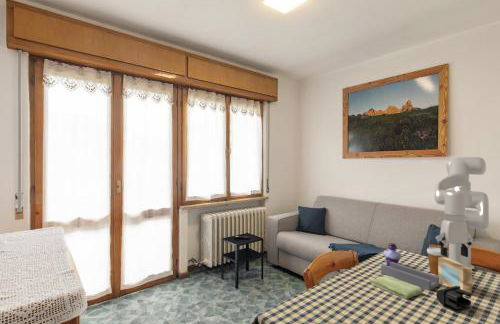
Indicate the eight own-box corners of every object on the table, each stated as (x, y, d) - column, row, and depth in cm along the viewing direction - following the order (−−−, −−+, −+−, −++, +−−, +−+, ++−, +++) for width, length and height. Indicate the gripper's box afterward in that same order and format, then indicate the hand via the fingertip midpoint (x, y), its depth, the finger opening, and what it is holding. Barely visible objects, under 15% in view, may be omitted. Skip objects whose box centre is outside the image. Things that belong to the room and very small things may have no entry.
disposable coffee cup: (441, 270, 140) (441, 247, 140) (453, 277, 131) (453, 253, 131) (422, 269, 141) (422, 246, 141) (433, 276, 132) (433, 252, 132)
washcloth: (386, 279, 128) (386, 272, 129) (424, 295, 113) (424, 287, 113) (368, 284, 122) (368, 277, 122) (405, 302, 107) (405, 294, 107)
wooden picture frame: (446, 280, 128) (446, 257, 128) (471, 294, 114) (472, 268, 114) (437, 280, 128) (438, 257, 128) (462, 294, 114) (462, 268, 114)
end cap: (451, 299, 109) (452, 283, 109) (471, 308, 102) (471, 290, 102) (435, 303, 105) (436, 286, 105) (455, 313, 99) (455, 295, 99)
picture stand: (391, 269, 140) (391, 261, 140) (439, 285, 121) (439, 276, 122) (381, 273, 135) (381, 265, 135) (428, 290, 116) (429, 281, 116)
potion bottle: (401, 264, 147) (401, 243, 147) (400, 269, 140) (401, 246, 140) (384, 261, 152) (384, 240, 152) (382, 266, 144) (383, 244, 145)
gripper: (465, 217, 125) (465, 253, 125) (430, 216, 124) (429, 253, 124) (480, 220, 118) (479, 259, 117) (442, 219, 117) (442, 258, 116)
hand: (454, 255), depth 121 cm, fingers open, 9 cm apart
